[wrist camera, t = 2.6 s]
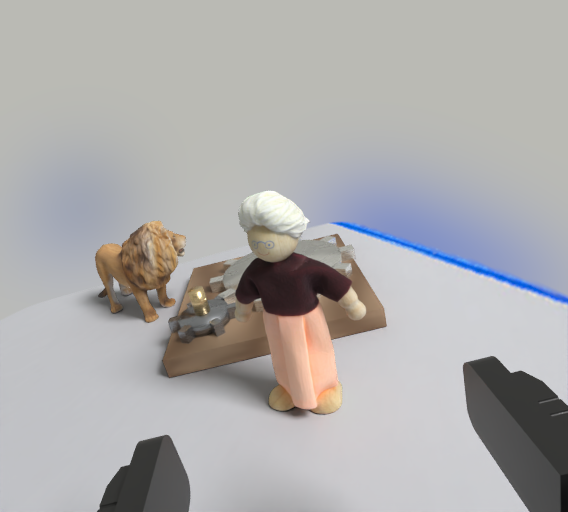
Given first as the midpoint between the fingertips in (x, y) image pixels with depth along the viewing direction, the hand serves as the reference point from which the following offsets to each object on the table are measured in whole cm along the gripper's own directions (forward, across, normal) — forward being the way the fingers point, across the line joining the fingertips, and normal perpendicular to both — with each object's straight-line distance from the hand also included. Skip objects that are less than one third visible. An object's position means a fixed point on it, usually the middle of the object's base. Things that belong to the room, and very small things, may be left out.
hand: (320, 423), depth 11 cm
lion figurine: (+30, +15, +8) cm, 35 cm away
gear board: (+25, +2, +8) cm, 27 cm away
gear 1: (+21, +7, +7) cm, 23 cm away
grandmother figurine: (+11, 0, +9) cm, 14 cm away
